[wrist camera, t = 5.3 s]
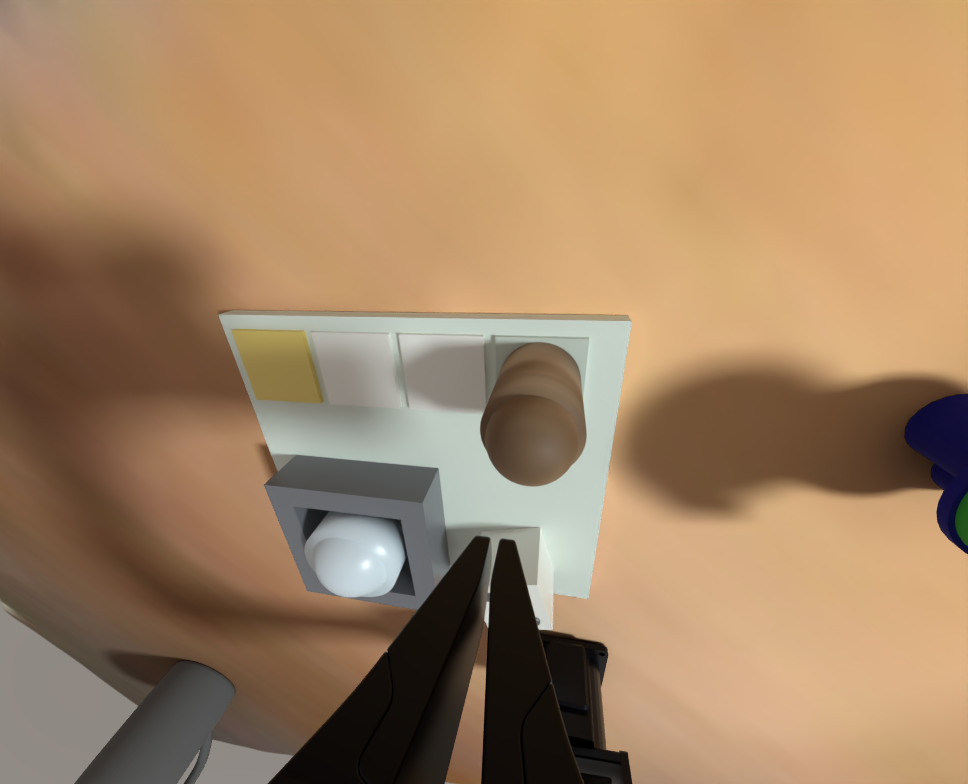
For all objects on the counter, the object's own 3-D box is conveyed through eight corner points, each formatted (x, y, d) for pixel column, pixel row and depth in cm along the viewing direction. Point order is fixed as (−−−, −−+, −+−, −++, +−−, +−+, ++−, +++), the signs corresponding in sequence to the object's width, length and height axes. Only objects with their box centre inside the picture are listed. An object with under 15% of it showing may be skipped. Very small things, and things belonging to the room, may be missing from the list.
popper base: (451, 573, 27) (439, 613, 24) (330, 555, 28) (307, 591, 26) (438, 468, 22) (422, 503, 19) (296, 454, 24) (263, 484, 21)
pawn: (575, 418, 18) (582, 522, 12) (499, 411, 19) (468, 504, 13) (586, 345, 17) (599, 422, 10) (501, 339, 17) (466, 408, 11)
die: (553, 569, 24) (552, 631, 21) (498, 571, 26) (488, 630, 22) (540, 527, 23) (537, 586, 19) (481, 531, 24) (468, 588, 20)
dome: (422, 551, 26) (392, 627, 21) (348, 541, 27) (303, 611, 22) (412, 489, 23) (375, 560, 19) (330, 480, 24) (275, 545, 20)
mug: (162, 655, 48) (50, 782, 37) (215, 662, 45) (112, 799, 35) (213, 708, 53) (129, 830, 43) (263, 716, 51) (187, 847, 41)
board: (587, 585, 26) (588, 603, 25) (317, 546, 30) (307, 559, 29) (627, 315, 17) (632, 323, 16) (232, 310, 21) (213, 315, 20)
